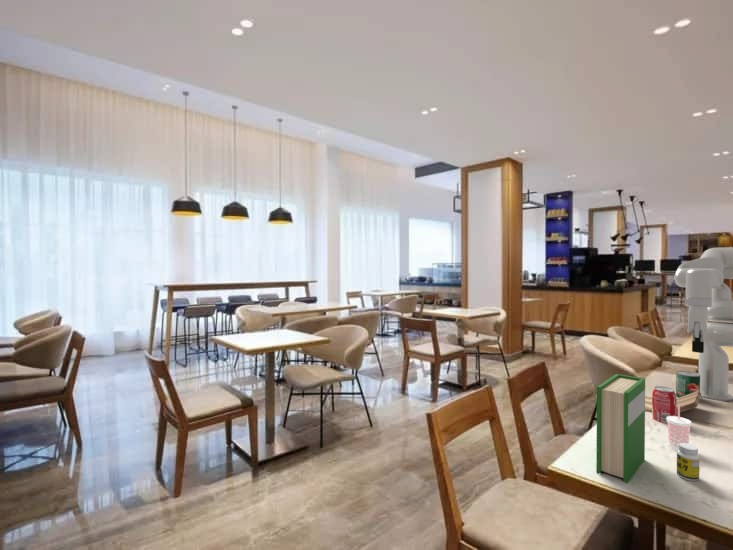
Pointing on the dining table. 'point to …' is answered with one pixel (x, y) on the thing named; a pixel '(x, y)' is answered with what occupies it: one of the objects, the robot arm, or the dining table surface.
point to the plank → (688, 401)
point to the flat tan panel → (648, 403)
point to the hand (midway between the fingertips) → (697, 351)
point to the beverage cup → (678, 430)
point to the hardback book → (620, 426)
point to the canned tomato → (687, 383)
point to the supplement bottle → (688, 462)
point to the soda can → (663, 403)
